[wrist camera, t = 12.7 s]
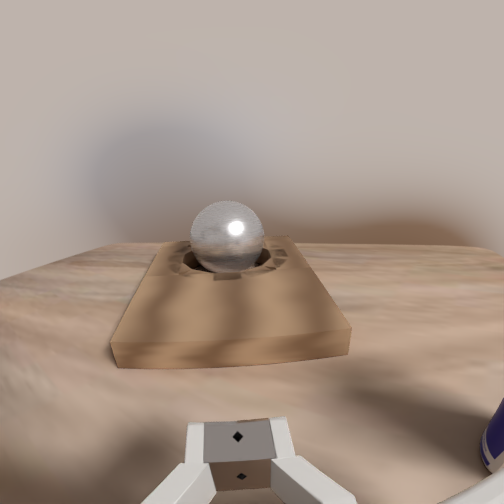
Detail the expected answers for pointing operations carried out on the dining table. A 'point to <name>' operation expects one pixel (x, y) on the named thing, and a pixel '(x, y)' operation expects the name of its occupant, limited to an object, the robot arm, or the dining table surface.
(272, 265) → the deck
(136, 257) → the dining table surface
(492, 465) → the energy drink
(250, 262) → the ball
